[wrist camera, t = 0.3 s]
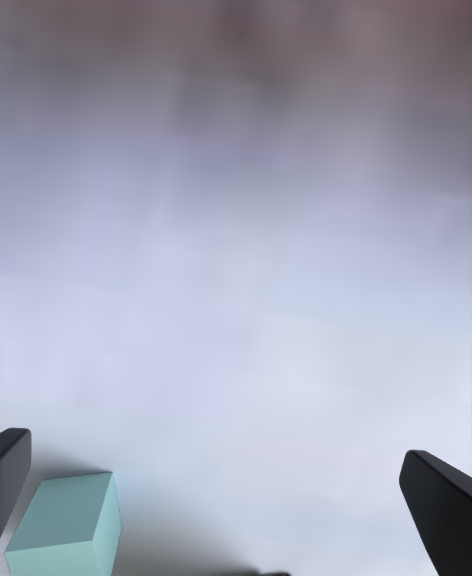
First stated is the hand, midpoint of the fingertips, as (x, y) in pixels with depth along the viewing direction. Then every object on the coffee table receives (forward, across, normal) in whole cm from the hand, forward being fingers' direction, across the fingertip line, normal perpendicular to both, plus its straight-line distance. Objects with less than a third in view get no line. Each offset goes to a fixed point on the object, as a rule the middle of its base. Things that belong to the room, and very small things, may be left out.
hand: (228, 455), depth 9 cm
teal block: (+14, +7, +15) cm, 22 cm away
